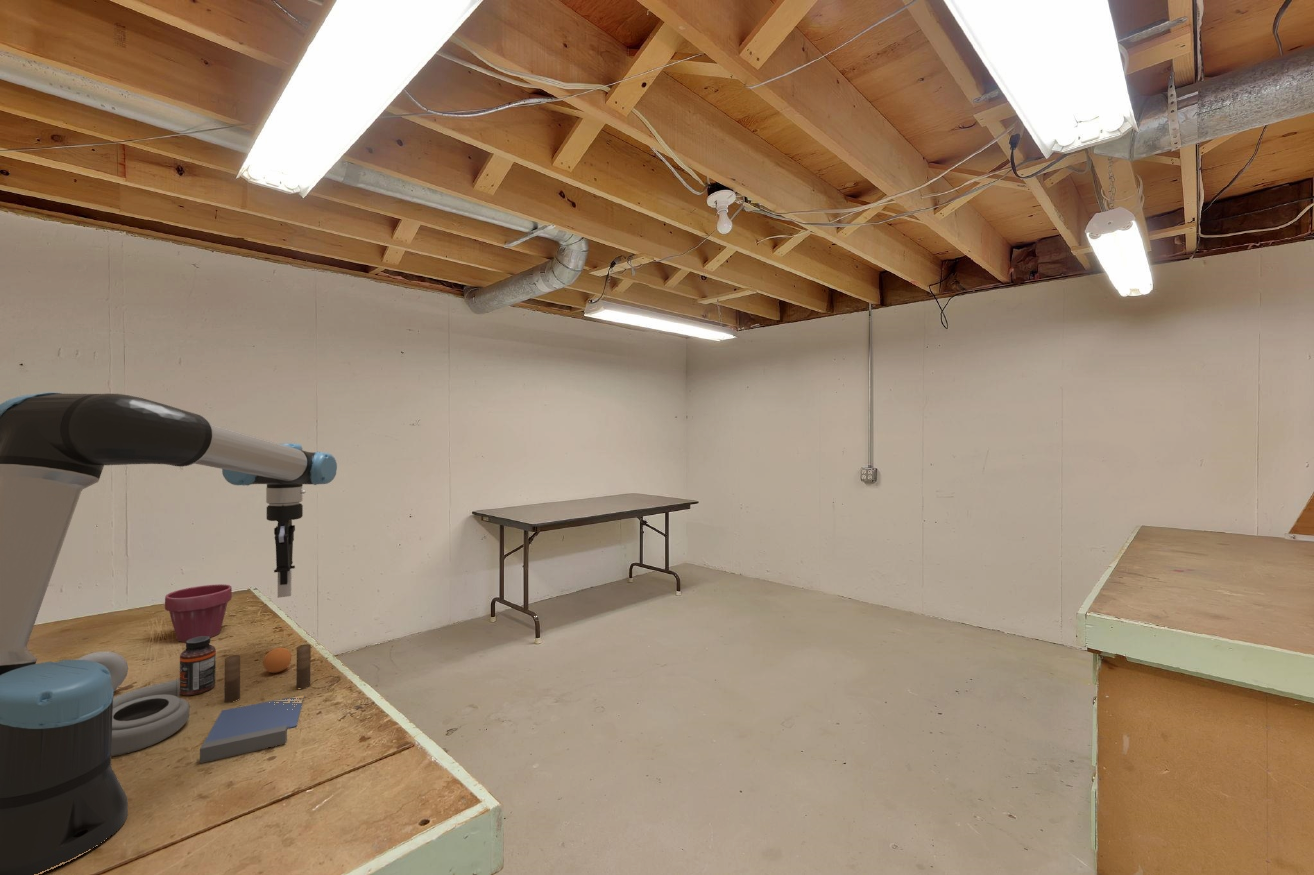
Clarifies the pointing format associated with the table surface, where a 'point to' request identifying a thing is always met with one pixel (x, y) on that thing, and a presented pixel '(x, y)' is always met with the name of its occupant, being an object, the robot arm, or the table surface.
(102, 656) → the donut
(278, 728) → the stopper
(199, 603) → the plant pot
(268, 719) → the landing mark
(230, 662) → the post left
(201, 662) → the supplement bottle
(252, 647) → the table surface
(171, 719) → the turbocharger housing
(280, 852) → the table surface
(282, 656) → the orange egg
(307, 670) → the post right
